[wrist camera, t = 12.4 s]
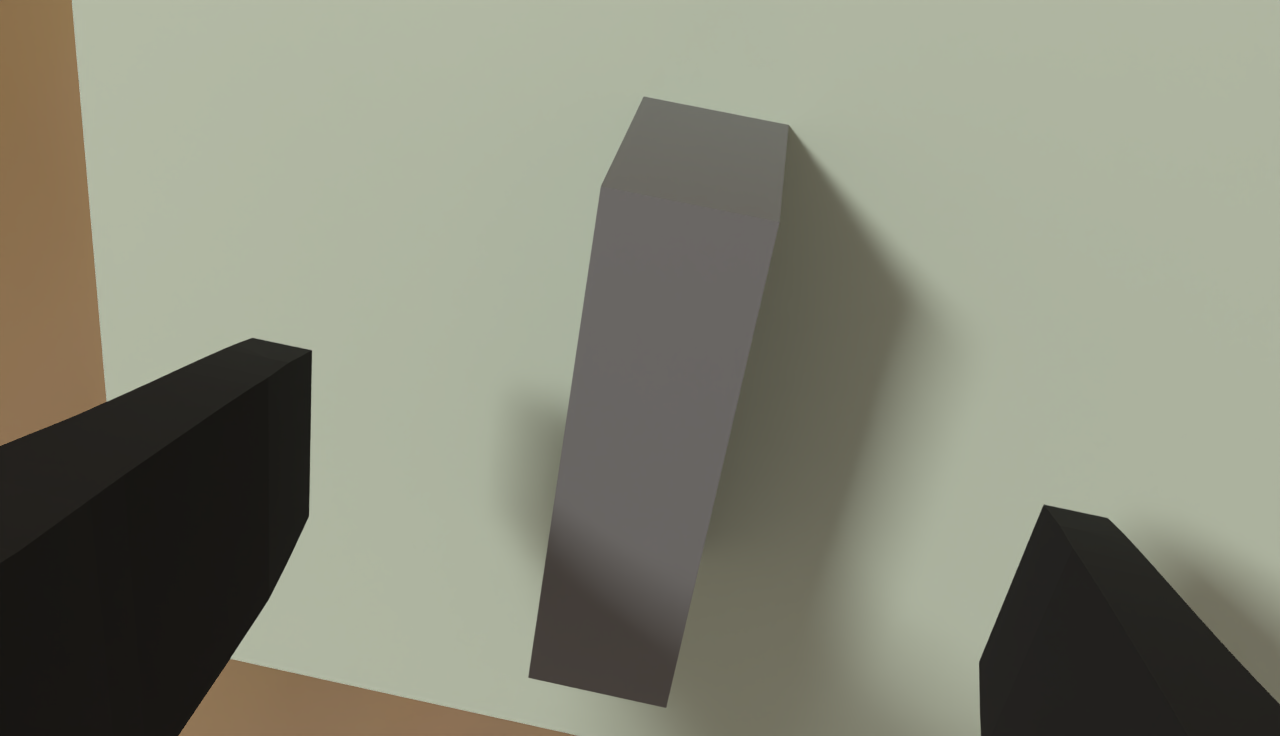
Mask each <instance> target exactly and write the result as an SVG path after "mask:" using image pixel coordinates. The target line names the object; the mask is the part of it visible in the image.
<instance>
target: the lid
mask: <svg viewBox="0 0 1280 736" xmlns="http://www.w3.org/2000/svg"><path fill="white" fill-rule="evenodd" d="M72 8H73V19H74V31H75V42H76V54H77V65H78V77H79V88H80V100H81V111H82V123H83V134H84V146H85V158H86V169H87V181H88V192H89V204H90V215H91V227H92V238H93V250H94V261H95V273H96V284H97V296H98V307H99V319H100V330H101V342H102V353H103V365H104V376H105V388H106V399H107V401H110V400H112V399H114V398H116V397H119V396H121V395H123V394H125V393H127V392H130V391H132V390H134V389H136V388H139V387H141V386H143V385H145V384H147V383H150V382H152V381H154V380H156V379H158V378H160V377H163V376H165V375H167V374H169V373H171V372H173V371H176V370H178V369H180V368H182V367H184V366H187V365H189V364H191V363H193V362H195V361H197V360H200V359H202V358H204V357H206V356H209V355H211V354H213V353H215V352H218V351H220V350H222V349H225V348H227V347H229V346H232V345H234V344H237V343H239V342H242V341H245V340H248V339H250V338H256V339H261V340H266V341H270V342H275V343H280V344H285V345H289V346H294V347H299V348H304V349H308V350H312V384H311V441H310V497H309V518H308V520H307V522H306V524H305V526H304V529H303V531H302V533H301V535H300V537H299V539H298V541H297V543H296V546H295V548H294V550H293V552H292V554H291V556H290V558H289V561H288V563H287V565H286V567H285V569H284V571H283V573H282V575H281V577H280V579H279V581H278V583H277V585H276V587H275V589H274V591H273V592H272V594H271V596H270V598H269V600H268V602H267V603H266V605H265V606H264V608H263V609H262V611H261V613H260V614H259V616H258V617H257V619H256V620H255V622H254V623H253V625H252V626H251V628H250V629H249V631H248V632H247V634H246V635H245V637H244V638H243V640H242V641H241V643H240V644H239V646H238V647H237V649H236V651H235V652H234V654H233V655H232V657H231V658H230V659H234V660H238V661H243V662H247V663H252V664H256V665H261V666H265V667H270V668H274V669H279V670H283V671H288V672H293V673H297V674H302V675H306V676H311V677H315V678H320V679H324V680H329V681H333V682H338V683H342V684H347V685H351V686H356V687H360V688H365V689H370V690H374V691H379V692H383V693H388V694H392V695H397V696H401V697H406V698H410V699H415V700H419V701H424V702H428V703H433V704H437V705H442V706H447V707H451V708H456V709H460V710H465V711H469V712H474V713H478V714H483V715H487V716H492V717H496V718H501V719H505V720H510V721H514V722H519V723H524V724H528V725H533V726H537V727H542V728H546V729H551V730H555V731H560V732H564V733H569V734H573V735H578V736H981V726H980V691H979V661H980V658H981V656H982V653H983V651H984V649H985V646H986V644H987V641H988V639H989V636H990V634H991V631H992V629H993V627H994V624H995V622H996V619H997V617H998V614H999V612H1000V610H1001V607H1002V605H1003V602H1004V600H1005V597H1006V595H1007V592H1008V590H1009V588H1010V585H1011V583H1012V580H1013V578H1014V575H1015V573H1016V570H1017V568H1018V566H1019V563H1020V561H1021V558H1022V556H1023V553H1024V551H1025V548H1026V546H1027V544H1028V541H1029V539H1030V536H1031V534H1032V531H1033V529H1034V527H1035V524H1036V522H1037V519H1038V517H1039V514H1040V512H1041V509H1042V507H1043V505H1049V506H1054V507H1058V508H1063V509H1068V510H1073V511H1077V512H1082V513H1087V514H1092V515H1096V516H1101V517H1106V518H1108V519H1109V520H1110V521H1111V522H1113V523H1114V524H1115V525H1116V526H1117V527H1118V528H1119V529H1120V530H1121V531H1122V532H1123V533H1124V534H1125V536H1126V537H1127V538H1128V539H1129V540H1130V541H1131V542H1132V543H1133V544H1134V545H1135V546H1136V547H1137V548H1138V549H1139V551H1140V552H1141V553H1142V554H1143V555H1144V556H1145V557H1146V558H1147V559H1148V561H1149V562H1150V563H1151V564H1152V565H1153V566H1154V567H1155V568H1156V569H1157V571H1158V572H1159V573H1160V574H1161V575H1162V576H1163V577H1164V578H1165V580H1166V581H1167V582H1168V583H1169V584H1170V585H1171V586H1172V588H1173V589H1174V590H1175V591H1176V592H1177V593H1178V594H1179V595H1180V597H1181V598H1182V599H1183V600H1184V601H1185V602H1186V603H1187V604H1188V606H1189V607H1190V608H1191V609H1192V610H1193V611H1194V612H1195V613H1196V615H1197V616H1198V617H1199V618H1200V619H1201V620H1202V621H1203V622H1204V623H1205V625H1206V626H1207V627H1208V628H1209V629H1210V630H1211V631H1212V632H1213V633H1214V635H1215V636H1216V637H1217V638H1218V639H1219V640H1220V641H1221V642H1222V643H1223V644H1224V645H1225V647H1226V648H1227V649H1228V650H1229V651H1230V652H1231V653H1232V654H1233V655H1234V656H1235V657H1236V659H1237V660H1238V661H1239V662H1240V663H1241V664H1242V665H1243V666H1244V667H1245V668H1246V669H1247V670H1248V671H1249V672H1250V674H1251V675H1252V676H1253V677H1254V678H1255V679H1256V680H1257V681H1258V682H1259V683H1260V684H1261V685H1262V686H1263V687H1264V688H1265V689H1266V690H1267V691H1268V692H1269V693H1270V695H1271V696H1272V697H1273V698H1274V699H1275V700H1276V701H1277V702H1278V703H1279V704H1280V0H72Z"/></svg>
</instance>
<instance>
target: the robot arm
mask: <svg viewBox="0 0 1280 736" xmlns="http://www.w3.org/2000/svg"><path fill="white" fill-rule="evenodd" d="M311 384H312V350H308V349H304V348H299V347H294V346H289V345H285V344H280V343H275V342H270V341H266V340H261V339H256V338H250V339H248V340H245V341H242V342H239V343H237V344H234V345H232V346H229V347H227V348H225V349H222V350H220V351H218V352H215V353H213V354H211V355H209V356H206V357H204V358H202V359H200V360H197V361H195V362H193V363H191V364H189V365H187V366H184V367H182V368H180V369H178V370H176V371H173V372H171V373H169V374H167V375H165V376H163V377H160V378H158V379H156V380H154V381H152V382H150V383H147V384H145V385H143V386H141V387H139V388H136V389H134V390H132V391H130V392H127V393H125V394H123V395H121V396H119V397H116V398H114V399H112V400H110V401H107V402H105V403H103V404H101V405H99V406H96V407H94V408H92V409H90V410H88V411H85V412H83V413H81V414H78V415H76V416H74V417H71V418H69V419H66V420H64V421H61V422H59V423H56V424H54V425H52V426H49V427H47V428H44V429H42V430H39V431H37V432H34V433H32V434H29V435H27V436H24V437H22V438H19V439H17V440H14V441H12V442H9V443H7V444H4V445H2V446H0V736H178V735H179V734H180V732H181V731H182V729H183V728H184V726H185V725H186V723H187V722H188V720H189V719H190V717H191V716H192V714H193V713H194V712H195V710H196V709H197V707H198V706H199V704H200V703H201V701H202V700H203V698H204V697H205V695H206V694H207V692H208V691H209V689H210V688H211V686H212V685H213V683H214V682H215V680H216V679H217V677H218V676H219V674H220V673H221V672H222V670H223V669H224V667H225V666H226V664H227V663H228V661H229V660H230V658H231V657H232V655H233V654H234V652H235V651H236V649H237V647H238V646H239V644H240V643H241V641H242V640H243V638H244V637H245V635H246V634H247V632H248V631H249V629H250V628H251V626H252V625H253V623H254V622H255V620H256V619H257V617H258V616H259V614H260V613H261V611H262V609H263V608H264V606H265V605H266V603H267V602H268V600H269V598H270V596H271V594H272V592H273V591H274V589H275V587H276V585H277V583H278V581H279V579H280V577H281V575H282V573H283V571H284V569H285V567H286V565H287V563H288V561H289V558H290V556H291V554H292V552H293V550H294V548H295V546H296V543H297V541H298V539H299V537H300V535H301V533H302V531H303V529H304V526H305V524H306V522H307V520H308V518H309V497H310V441H311ZM979 691H980V726H981V736H1280V704H1279V703H1278V702H1277V701H1276V700H1275V699H1274V698H1273V697H1272V696H1271V695H1270V693H1269V692H1268V691H1267V690H1266V689H1265V688H1264V687H1263V686H1262V685H1261V684H1260V683H1259V682H1258V681H1257V680H1256V679H1255V678H1254V677H1253V676H1252V675H1251V674H1250V672H1249V671H1248V670H1247V669H1246V668H1245V667H1244V666H1243V665H1242V664H1241V663H1240V662H1239V661H1238V660H1237V659H1236V657H1235V656H1234V655H1233V654H1232V653H1231V652H1230V651H1229V650H1228V649H1227V648H1226V647H1225V645H1224V644H1223V643H1222V642H1221V641H1220V640H1219V639H1218V638H1217V637H1216V636H1215V635H1214V633H1213V632H1212V631H1211V630H1210V629H1209V628H1208V627H1207V626H1206V625H1205V623H1204V622H1203V621H1202V620H1201V619H1200V618H1199V617H1198V616H1197V615H1196V613H1195V612H1194V611H1193V610H1192V609H1191V608H1190V607H1189V606H1188V604H1187V603H1186V602H1185V601H1184V600H1183V599H1182V598H1181V597H1180V595H1179V594H1178V593H1177V592H1176V591H1175V590H1174V589H1173V588H1172V586H1171V585H1170V584H1169V583H1168V582H1167V581H1166V580H1165V578H1164V577H1163V576H1162V575H1161V574H1160V573H1159V572H1158V571H1157V569H1156V568H1155V567H1154V566H1153V565H1152V564H1151V563H1150V562H1149V561H1148V559H1147V558H1146V557H1145V556H1144V555H1143V554H1142V553H1141V552H1140V551H1139V549H1138V548H1137V547H1136V546H1135V545H1134V544H1133V543H1132V542H1131V541H1130V540H1129V539H1128V538H1127V537H1126V536H1125V534H1124V533H1123V532H1122V531H1121V530H1120V529H1119V528H1118V527H1117V526H1116V525H1115V524H1114V523H1113V522H1111V521H1110V520H1109V519H1108V518H1106V517H1101V516H1096V515H1092V514H1087V513H1082V512H1077V511H1073V510H1068V509H1063V508H1058V507H1054V506H1049V505H1043V507H1042V509H1041V512H1040V514H1039V517H1038V519H1037V522H1036V524H1035V527H1034V529H1033V531H1032V534H1031V536H1030V539H1029V541H1028V544H1027V546H1026V548H1025V551H1024V553H1023V556H1022V558H1021V561H1020V563H1019V566H1018V568H1017V570H1016V573H1015V575H1014V578H1013V580H1012V583H1011V585H1010V588H1009V590H1008V592H1007V595H1006V597H1005V600H1004V602H1003V605H1002V607H1001V610H1000V612H999V614H998V617H997V619H996V622H995V624H994V627H993V629H992V631H991V634H990V636H989V639H988V641H987V644H986V646H985V649H984V651H983V653H982V656H981V658H980V661H979Z"/></svg>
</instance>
